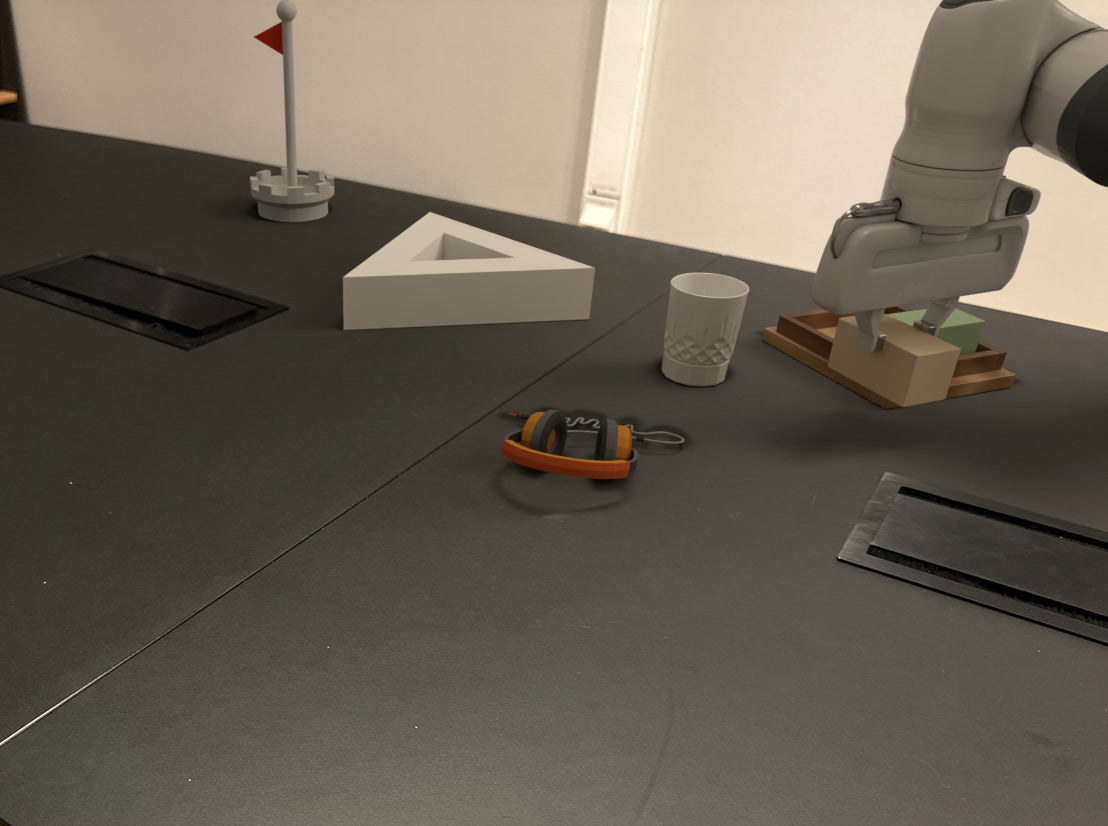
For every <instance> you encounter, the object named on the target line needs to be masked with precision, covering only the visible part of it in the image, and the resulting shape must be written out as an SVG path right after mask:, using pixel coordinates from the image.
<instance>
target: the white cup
mask: <svg viewBox="0 0 1108 826" xmlns="http://www.w3.org/2000/svg"><path fill="white" fill-rule="evenodd" d="M749 292H750V286H749V285H748V284H747V283H745V282H744V281H742V280H740V279H738V278H736V277H732V276H730V275H726V274H721V273H713V272H687V273H681V274H677V275H675V276H674V277H672V278H671V279H670V284H669V293H668V301H667V309H666V318H665V327H664V337H663V338H664V339H663V346H664V347H663V348H664V349H663V354H662V355H663V356H662V363H661V372H662V373H663V375H664V377H666V378H667V379H669V380H670V381H673V382H675V383H677V384H682V385H686V386H690V387H710V386H717V385H718V384H721V383H722V382H724V381H725V379H726V376H727V372H728V368H729V364H730V361H731V358H732V357H733V353H734V350H735V349H734V348H735V346H736V343H737V339H738V334H739V332H740V329H741V324H742V320H743V316H744V313H745V308H746V305H747V301H748V297H749Z"/></svg>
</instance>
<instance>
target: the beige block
mask: <svg viewBox="0 0 1108 826" xmlns="http://www.w3.org/2000/svg"><path fill="white" fill-rule="evenodd" d="M877 321H878V327H879V332H882V333H884V334H886V339H885V341H884V343H883V348H882V350H881V351H879V352H874V353H868V354H867V353H864V352H862V351H860V350H858V348H857V341H858V337H859V333H860V330H859V328H858V325H857V321H856V318H855V316H850V317H844V318H839V321H838V325H837V329H836V334H835V338H834V342H833V346H832V350H831V354H830V358H829V362H828V367H829V368H831V369H833V370H835V371H836V372H838V373H840V374H842V375H844V376H846V377H848V378H849V379H851V380H853V381H855V382H857V383H859V384H860V385H862V386H864V387H866V388H868V389H870V390H872V391H873V392H875V393H877V394H879V395H881V396H883V397H884V398H886V399H888V400H890V401H892V402H894V403H896V404H897V405H899V406H901V407H900V408H907V407H912V406H919V405H923V404H928V403H933V402H938V401H945V400H946V399H945V398H946V395H947V392H948V389H949V385H950V382H951V379H952V376H953V373H954V370H955V366H956V363H957V360H958V357H959V354H960V351H961V348H959V347H956V346H954V345H952V344H950V343H948V342H945V341H943V340H941V339H939V338H937V337H935V336H932V335H930V334H928V333H926V332H924V331H921V330H919V329H917V328H915V327H913V326H910V325H908V324H906V323H904V322H902V321H899V320H897V319H895V318H893V317H891V316H888V315H886V314H884V316H883V318H882V319H877Z"/></svg>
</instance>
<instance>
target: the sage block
mask: <svg viewBox="0 0 1108 826" xmlns="http://www.w3.org/2000/svg"><path fill="white" fill-rule="evenodd" d="M927 309H928V308H922V309H915V310H914V309H913V310H914V311H907V312H900V313H893V314H886V315H888V316H891V317H893V318H895V319H897V320H899V321H902V322H904V323H906V324H908V325H910V326H913V325H914V321H918V320H921V319H922V317H923V316H924V314H925V313H926V311H927ZM985 324H986V320H984V319H982V318H979V317H977V316H975V315H973V314H971V313H969V312H966V311H963V310H961V309H958V308H957V307H956V308H955V310H954V311H953V312H952V313H951V315H950V316H949V317H948V318H947V320H946V321H945V322H944V323H943V325H941V327H940V330H939V334H938V337H937V338H939V339H941V340H943V341H945V342H948V343H950V344H952V345H954V346H956V347H959V348H961V351H960V354H959V355H964V354H971V353H975V351H976V348H977V345H978V342H979V340H981V336H982V333H983V331H984V327H985Z"/></svg>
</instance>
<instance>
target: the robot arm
mask: <svg viewBox="0 0 1108 826" xmlns="http://www.w3.org/2000/svg"><path fill="white" fill-rule="evenodd" d="M904 109H905V110H904V111H905V112H904V113H905V116H904V123H903V128H902V130H901V133H900V135H899V137H898V138H897V140H896V142H895V143H894V145H893V148H892V151H891V155H890V159H889V164H888V167H887V171H886V175H885V179H884V183H883V187H882V192H881V194H880V199H879V200H877V201H873V202H858V203H855V204H853V205H851V206H850V209H849V210H846V211H845V212H843V214H842V215H840V217H838V218H837V219H836V220H835V222H834V224H833V226H832V232H831V233H830V235H829V237H828V238H827V242H826V244H825V245H824V246H825V247H824V248H823V252H822V254H821V257H820V260H819V262H818V265H817V268H816V272H815V275H814V279H813V282H812V287H811V290H810V296H811V298H812V300H813V303H814V304H815V306H817V307H819V308H821V309H825V310H827V311H829V312H831V313H833V314H836V315H845V314H852V313H854V315H855V318H856V321H857V325H858V328H859V330H860V333H859V337H858V341H857V348H858V350H860V351H862V352H864V353H867V354H868V353H874V352H879V351H881V350H882V348H883V343H884V341H885V339H886V334H884V333H882V332H879V327H878V321H877V319H882V318H883V316H884V312H885V308H890V307H896V306H909V305H915V304H921V303H928V302H930V305H929V306H928V308H926V309H927V311H926V313H925V314H924V316H923V317H922V319H921V320H918V321H914V325H913V327H915V328H917V329H919V330H921V331H924V332H926V333H928V334H930V335H932V336H935V337H938V334H939V330H940V327H941V325H943V323H944V322H945V321H946V320H947V318H948V317H949V316H950V315H951V313H952V312H953V311H954V310H955V308H956V309H957V307H958V305H959V301H960V298H961V297H965V296H971V295H978V294H985V293H992V292H998V291H1001V290H1003V289H1004V288H1005V287H1006V286H1007V285H1008V284H1009V283H1010V281H1011V280H1012V279H1013V278H1014V276H1015V274H1016V271H1017V269H1018V266H1019V263H1020V261H1021V258H1022V254H1023V252H1024V248H1025V245H1026V242H1027V238H1028V235H1029V229H1030V219H1029V217H1027V216H1029V215H1032V214H1033V213H1034V212H1035V211H1036V210H1037V208H1038V207H1039V203H1040V200H1041V196H1042V192H1041V191H1040V190H1039V189H1038V188H1036V187H1033V186H1030V185H1027V184H1025V183H1022V182H1019V181H1017V180H1016V181H1015V180H1013V179H1010V178H1008V177H1007V176H1006V175H1004V172H1005V169H1006V167H1007V164H1008V163H1007V162H1008V160H1009V157H1010V154H1011V153H1012V152H1013V151H1014V150H1016V149H1017V148H1030V149H1032V150H1034V151H1036V152H1037V153H1038V154H1039V153H1040V154H1042V155H1043V156H1045V157H1048V158H1051V159H1053V160H1054V161H1058V162H1060V163H1062V164H1065V165H1067V166H1068V167H1069V168H1071V169H1073V170H1074V171H1076V172H1077V173H1079V174H1081V175H1082V176H1083V177H1085V178H1087V179H1088V180H1090V181H1091V182H1093V183H1095V184H1097V185H1098V186H1101V187H1105V188H1108V28H1104V27H1102V26H1100V25H1099V24H1098V23H1095V22H1093V21H1091V20H1088V19H1087V18H1085V17H1083V16H1081V15H1079V14H1077V13H1076V12H1074V11H1073V10H1071V9H1070V8H1068V7H1067V6H1065V4H1063V3H1062V2H1061V1H1059V0H941V1H940V3H939V4H938V6H936V8H935V10H934V12H933V14H932V16H931V18H930V19H929V22H928V24H927V26H926V29H925V31H924V35H923V37H922V40H921V43H920V45H919V49H918V52H917V55H916V58H915V61H914V65H913V68H912V72H911V76H910V79H909V84H908V86H907V91H906V95H905V100H904Z"/></svg>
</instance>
